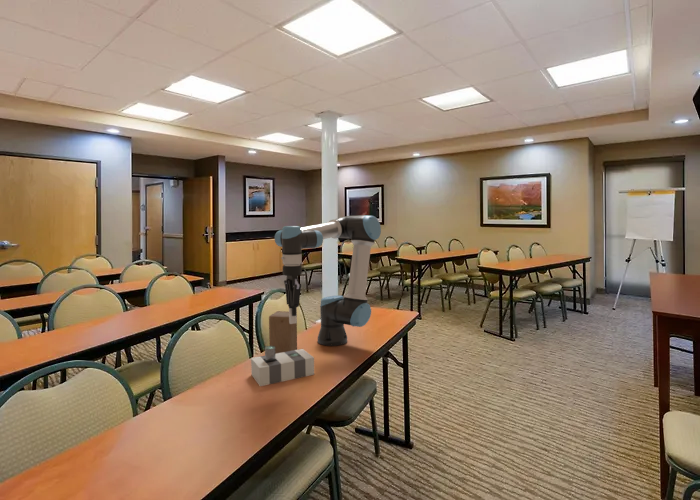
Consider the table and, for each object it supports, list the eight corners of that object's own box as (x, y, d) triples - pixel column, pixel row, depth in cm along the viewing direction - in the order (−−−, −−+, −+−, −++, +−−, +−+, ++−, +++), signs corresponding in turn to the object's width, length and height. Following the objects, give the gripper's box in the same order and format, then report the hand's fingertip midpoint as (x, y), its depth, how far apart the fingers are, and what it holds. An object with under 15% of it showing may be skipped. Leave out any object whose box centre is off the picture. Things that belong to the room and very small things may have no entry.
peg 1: (273, 362, 154) (273, 345, 153) (277, 365, 150) (276, 348, 149) (263, 364, 152) (263, 346, 151) (266, 367, 148) (266, 349, 148)
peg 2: (297, 368, 159) (297, 352, 158) (301, 372, 155) (300, 355, 155) (288, 370, 157) (288, 353, 156) (291, 374, 153) (291, 356, 153)
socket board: (302, 364, 164) (302, 348, 164) (314, 374, 154) (313, 357, 153) (251, 375, 154) (251, 357, 153) (259, 386, 143) (259, 368, 143)
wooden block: (290, 361, 168) (289, 316, 166) (268, 360, 170) (267, 315, 168) (298, 354, 177) (297, 311, 176) (277, 352, 179) (276, 310, 178)
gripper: (277, 263, 156) (278, 320, 158) (288, 267, 145) (289, 328, 147) (295, 262, 160) (295, 318, 162) (307, 265, 149) (308, 325, 150)
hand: (293, 323), depth 154 cm, fingers closed
